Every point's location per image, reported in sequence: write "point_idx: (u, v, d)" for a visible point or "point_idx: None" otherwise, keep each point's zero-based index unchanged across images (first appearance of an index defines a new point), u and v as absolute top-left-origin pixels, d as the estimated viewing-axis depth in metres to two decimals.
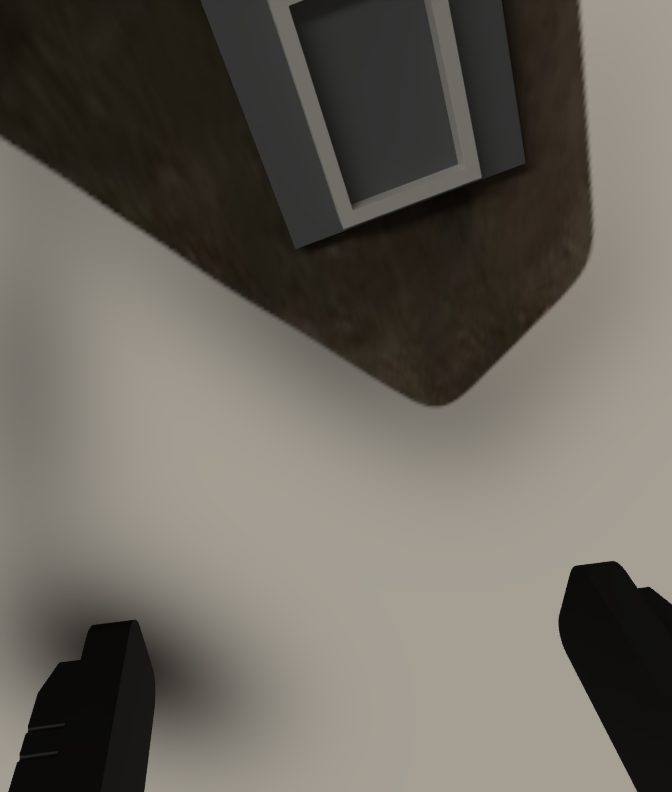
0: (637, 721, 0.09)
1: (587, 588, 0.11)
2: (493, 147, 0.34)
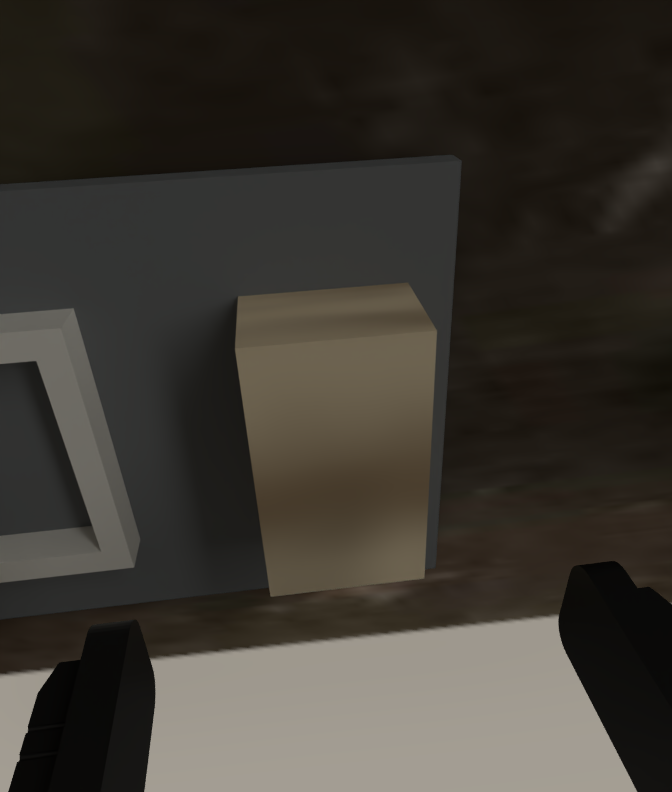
0: (637, 720, 0.09)
1: (587, 588, 0.11)
2: None
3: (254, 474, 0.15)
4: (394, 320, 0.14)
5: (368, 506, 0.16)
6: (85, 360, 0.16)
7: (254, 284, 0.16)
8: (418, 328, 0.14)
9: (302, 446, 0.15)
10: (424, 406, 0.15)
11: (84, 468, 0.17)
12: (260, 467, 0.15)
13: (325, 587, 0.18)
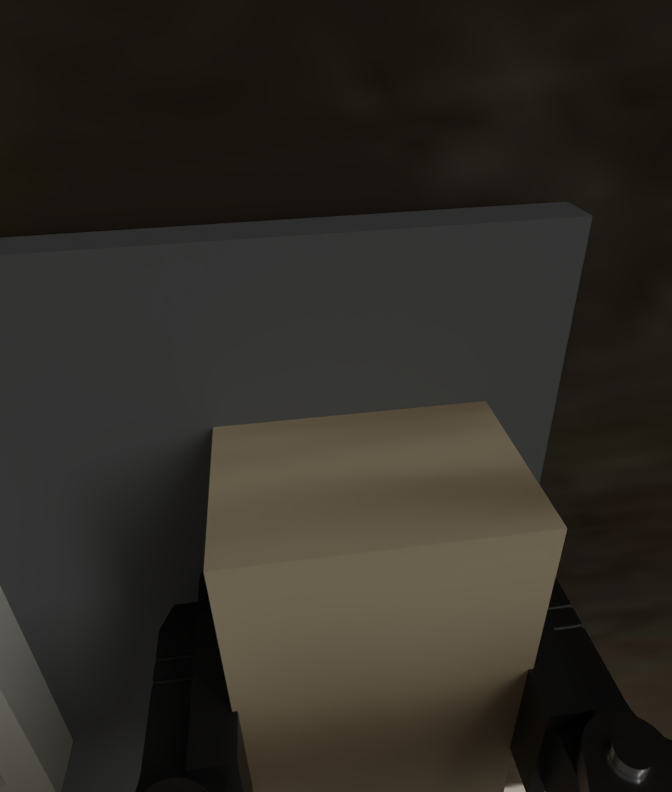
0: None
1: None
2: None
3: None
4: (484, 496, 0.08)
5: (420, 758, 0.10)
6: None
7: (239, 409, 0.10)
8: (532, 520, 0.08)
9: (320, 694, 0.09)
10: (527, 633, 0.09)
11: None
12: (249, 726, 0.09)
13: None
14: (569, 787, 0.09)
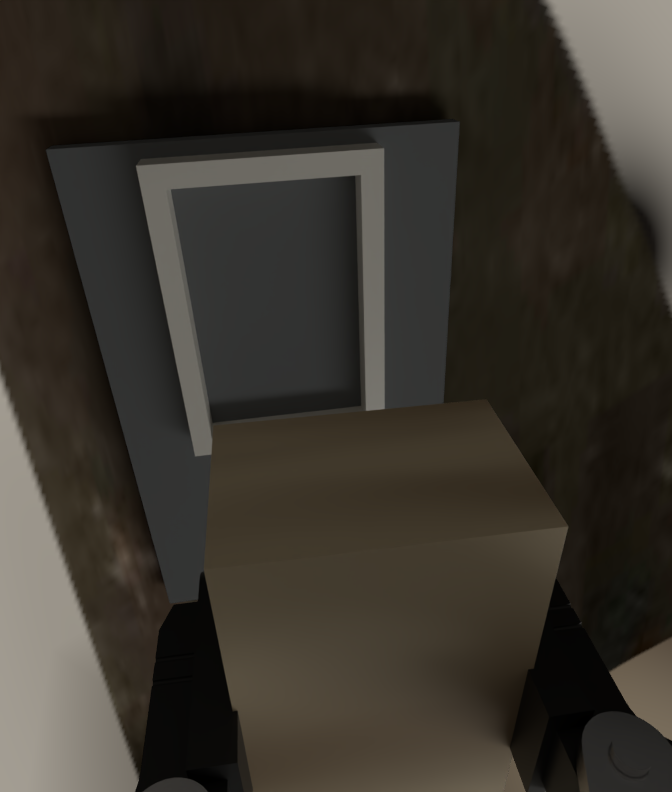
0: None
1: None
2: (108, 192, 0.21)
3: None
4: (485, 495, 0.08)
5: (421, 757, 0.10)
6: None
7: None
8: (533, 519, 0.08)
9: (321, 693, 0.09)
10: (529, 631, 0.09)
11: None
12: (250, 724, 0.09)
13: None
14: (569, 787, 0.09)
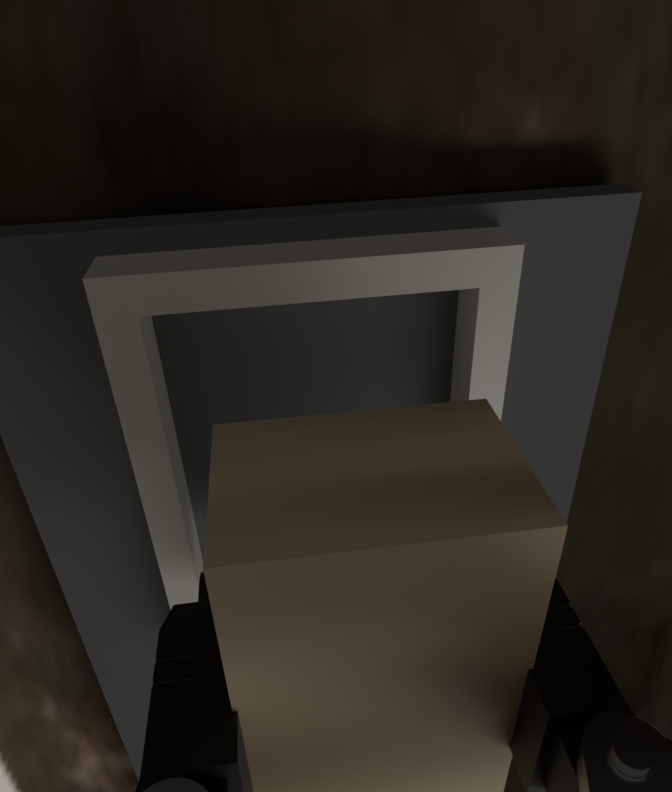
0: None
1: None
2: (40, 309, 0.12)
3: None
4: (485, 494, 0.08)
5: (421, 757, 0.10)
6: None
7: None
8: (533, 518, 0.08)
9: (320, 693, 0.09)
10: (528, 631, 0.09)
11: None
12: (249, 724, 0.09)
13: None
14: (569, 787, 0.09)
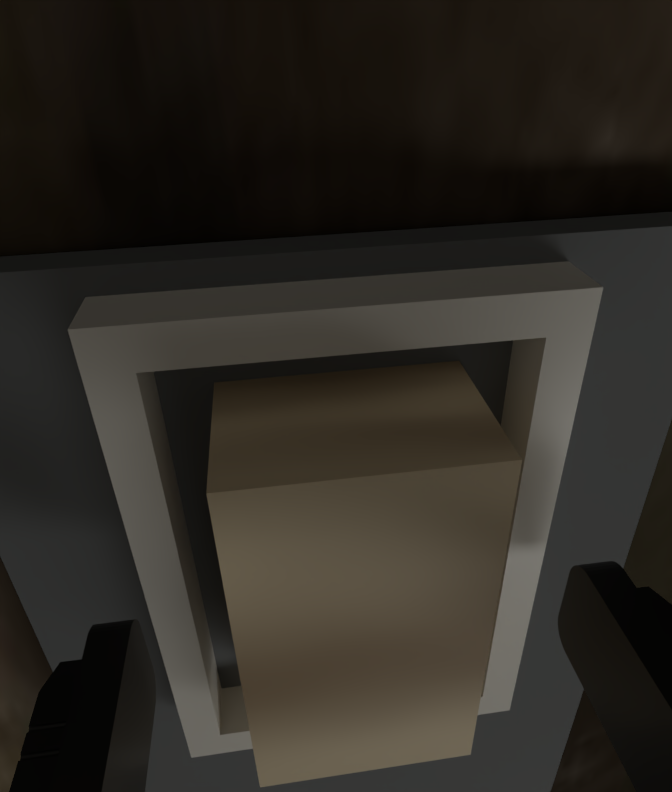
0: (636, 720, 0.10)
1: (586, 587, 0.11)
2: (19, 358, 0.10)
3: (237, 652, 0.10)
4: (452, 435, 0.09)
5: (400, 681, 0.11)
6: None
7: (484, 755, 0.19)
8: (492, 454, 0.09)
9: (309, 615, 0.10)
10: (492, 559, 0.10)
11: None
12: (247, 644, 0.10)
13: (335, 770, 0.13)
14: None
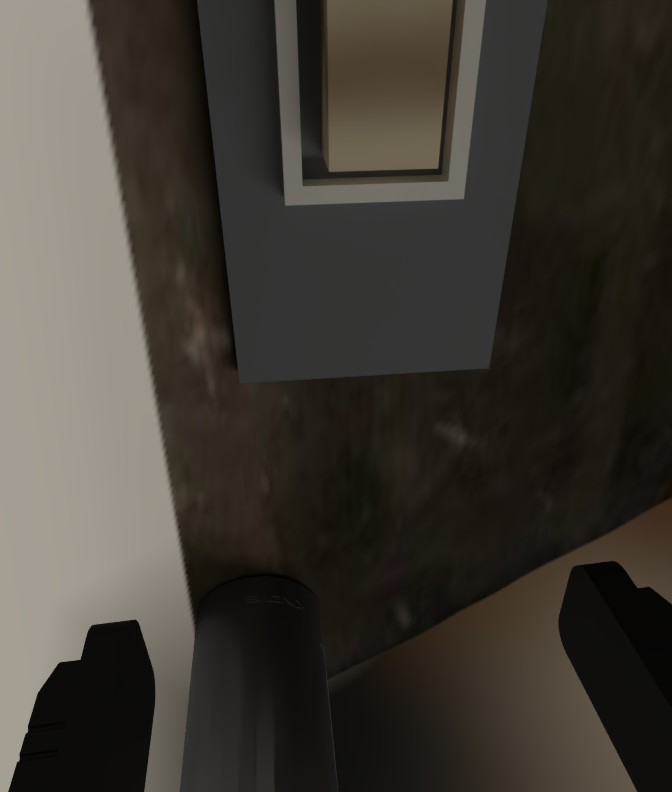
0: (637, 721, 0.09)
1: (587, 588, 0.11)
2: None
3: (328, 44, 0.22)
4: None
5: (403, 87, 0.23)
6: None
7: (451, 282, 0.31)
8: None
9: (363, 19, 0.22)
10: None
11: (373, 190, 0.27)
12: (333, 37, 0.22)
13: (367, 170, 0.25)
14: None
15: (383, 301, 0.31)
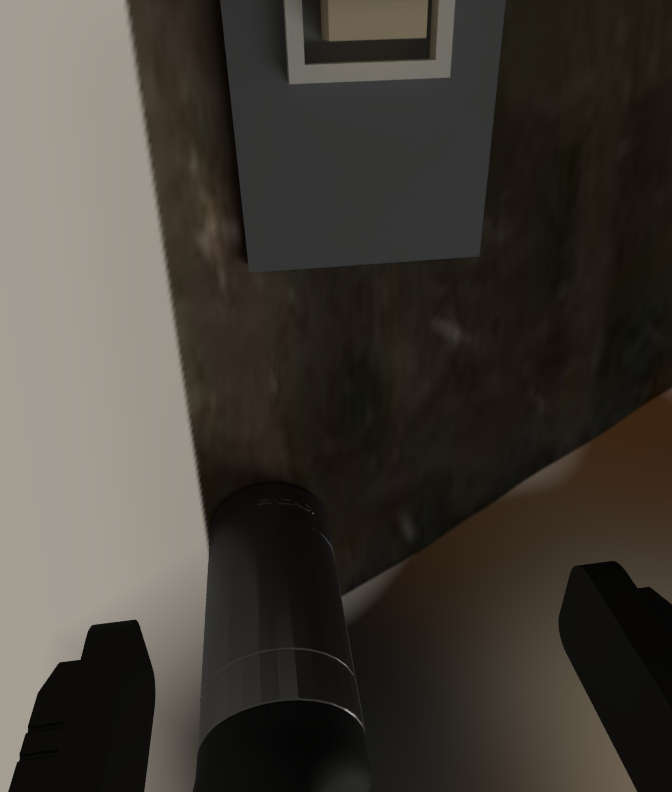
0: (637, 720, 0.09)
1: (587, 588, 0.11)
2: None
3: None
4: None
5: None
6: None
7: (442, 168, 0.34)
8: None
9: None
10: None
11: (368, 69, 0.30)
12: None
13: (363, 39, 0.28)
14: None
15: (380, 187, 0.34)
